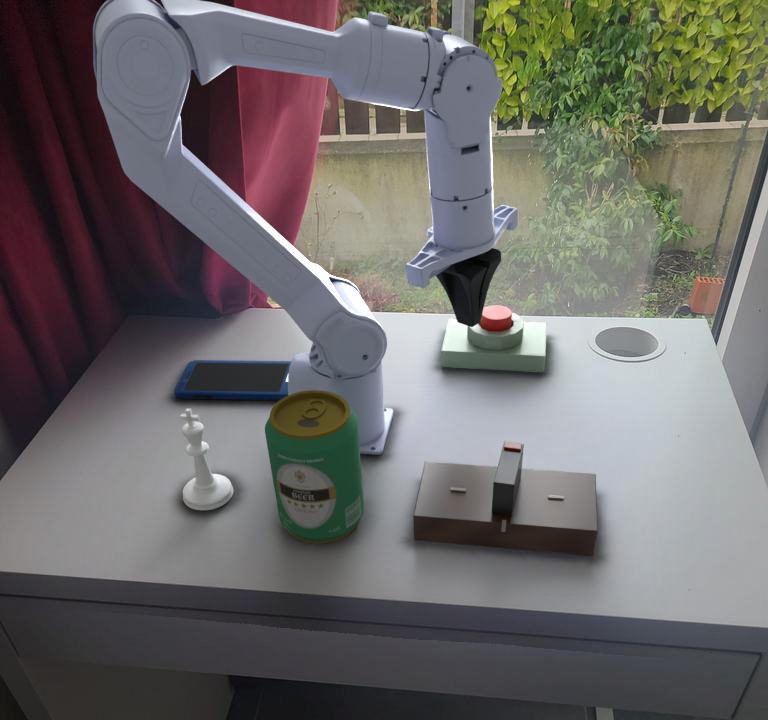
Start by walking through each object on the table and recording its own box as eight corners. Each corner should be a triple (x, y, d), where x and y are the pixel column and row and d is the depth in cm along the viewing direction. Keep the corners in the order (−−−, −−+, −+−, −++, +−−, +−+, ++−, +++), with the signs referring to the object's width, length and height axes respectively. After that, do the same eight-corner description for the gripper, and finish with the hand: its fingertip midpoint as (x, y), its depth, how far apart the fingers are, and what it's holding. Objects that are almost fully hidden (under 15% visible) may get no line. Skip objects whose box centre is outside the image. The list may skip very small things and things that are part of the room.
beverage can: (268, 540, 75) (248, 434, 67) (295, 486, 81) (280, 382, 73) (351, 552, 73) (342, 445, 65) (373, 496, 79) (367, 391, 71)
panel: (411, 548, 73) (411, 522, 71) (426, 478, 81) (426, 452, 79) (593, 565, 71) (598, 538, 69) (591, 490, 78) (595, 464, 76)
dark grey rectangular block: (511, 516, 71) (514, 482, 69) (491, 513, 72) (493, 479, 69) (521, 474, 76) (524, 441, 73) (501, 472, 76) (504, 439, 74)
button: (479, 332, 95) (479, 318, 94) (481, 317, 98) (482, 304, 96) (510, 333, 94) (511, 320, 93) (511, 319, 97) (512, 305, 96)
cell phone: (292, 400, 92) (291, 394, 91) (172, 398, 93) (171, 393, 93) (303, 366, 97) (302, 360, 97) (190, 365, 99) (188, 359, 98)
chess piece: (223, 513, 78) (203, 427, 71) (175, 507, 79) (151, 423, 72) (240, 481, 82) (223, 396, 75) (194, 476, 82) (173, 392, 76)
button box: (440, 367, 96) (441, 337, 94) (448, 333, 102) (448, 304, 100) (543, 372, 94) (546, 342, 92) (545, 338, 100) (548, 308, 98)
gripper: (476, 154, 79) (481, 282, 89) (374, 210, 72) (392, 343, 82) (536, 165, 75) (535, 298, 85) (435, 226, 68) (446, 363, 78)
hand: (468, 321), depth 83 cm, fingers closed
